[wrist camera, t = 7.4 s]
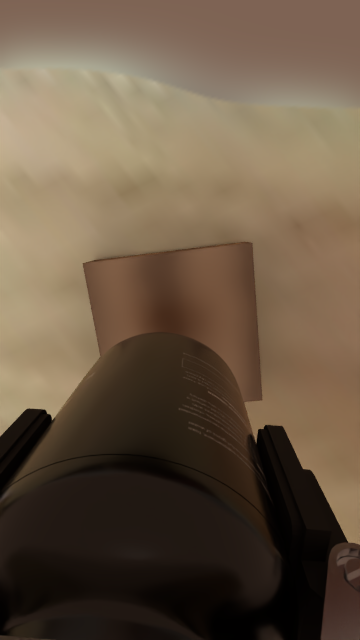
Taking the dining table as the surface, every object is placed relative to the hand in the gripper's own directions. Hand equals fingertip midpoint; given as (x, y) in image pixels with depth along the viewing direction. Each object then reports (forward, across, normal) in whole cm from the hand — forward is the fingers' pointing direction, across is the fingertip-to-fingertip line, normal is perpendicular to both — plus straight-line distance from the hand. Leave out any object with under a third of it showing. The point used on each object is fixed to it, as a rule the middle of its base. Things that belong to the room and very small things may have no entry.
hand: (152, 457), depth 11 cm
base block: (+17, 0, 0) cm, 17 cm away
